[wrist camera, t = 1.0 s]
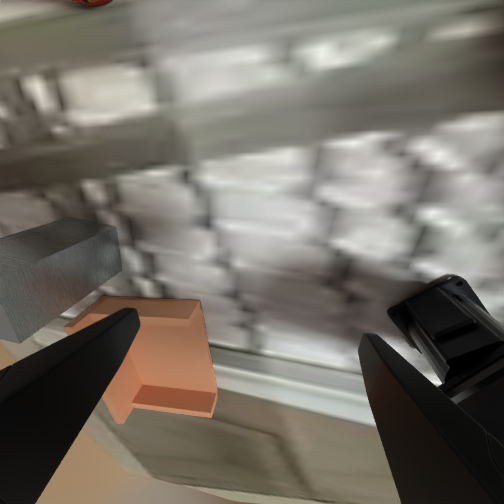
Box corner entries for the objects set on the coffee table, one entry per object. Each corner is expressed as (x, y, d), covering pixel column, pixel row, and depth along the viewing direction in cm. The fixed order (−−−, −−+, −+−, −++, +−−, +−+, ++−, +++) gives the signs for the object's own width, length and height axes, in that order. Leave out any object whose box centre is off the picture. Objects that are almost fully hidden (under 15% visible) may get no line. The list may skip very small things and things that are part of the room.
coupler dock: (199, 300, 24) (179, 335, 19) (218, 394, 30) (206, 436, 26) (102, 295, 25) (63, 326, 21) (140, 385, 32) (116, 423, 28)
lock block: (116, 226, 21) (-9, 281, 12) (122, 270, 23) (19, 343, 14) (69, 217, 22) (-86, 264, 13) (79, 260, 24) (-47, 327, 15)
